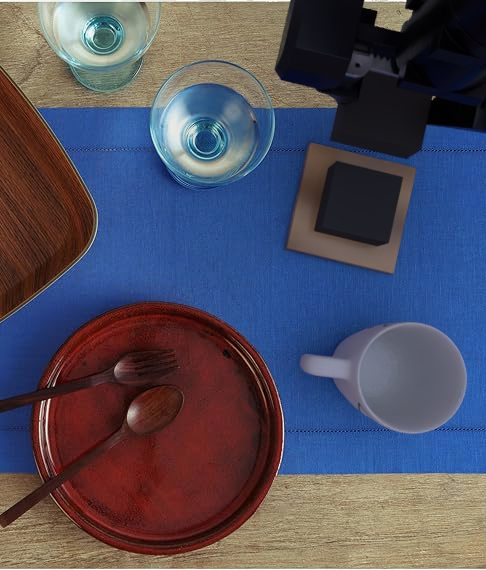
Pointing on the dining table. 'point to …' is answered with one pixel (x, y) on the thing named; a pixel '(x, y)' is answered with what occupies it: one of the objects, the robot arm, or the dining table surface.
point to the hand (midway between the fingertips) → (382, 107)
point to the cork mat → (336, 247)
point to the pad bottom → (358, 204)
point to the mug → (397, 375)
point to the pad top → (383, 118)
